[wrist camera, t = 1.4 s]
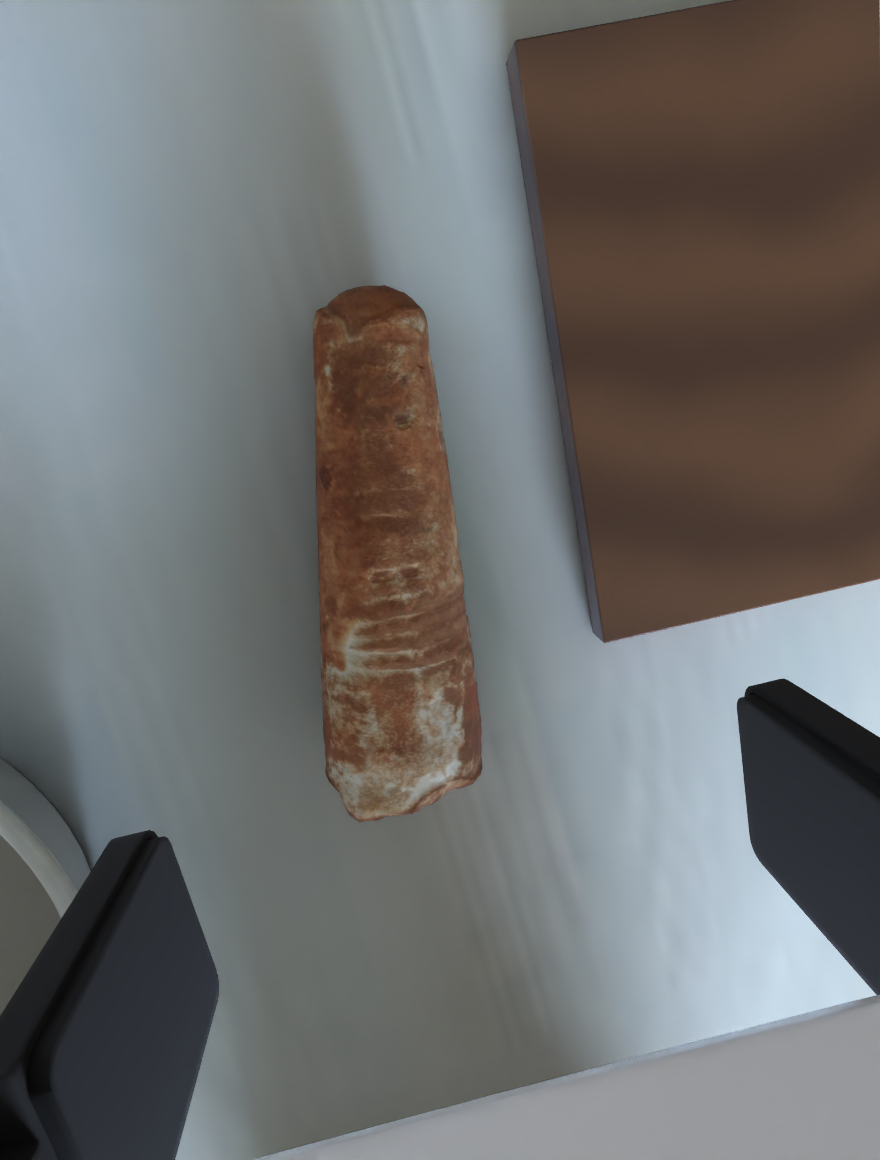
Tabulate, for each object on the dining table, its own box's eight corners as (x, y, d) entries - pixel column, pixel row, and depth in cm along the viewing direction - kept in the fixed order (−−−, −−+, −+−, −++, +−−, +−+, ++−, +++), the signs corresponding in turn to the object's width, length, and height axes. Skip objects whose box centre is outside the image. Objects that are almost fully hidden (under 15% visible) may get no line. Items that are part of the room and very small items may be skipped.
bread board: (505, 62, 23) (514, 38, 22) (849, -2, 24) (879, -29, 23) (592, 633, 29) (604, 644, 28) (869, 568, 30) (894, 576, 28)
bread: (331, 757, 29) (322, 834, 24) (300, 296, 25) (280, 261, 19) (472, 748, 30) (494, 820, 24) (467, 295, 25) (493, 261, 20)
